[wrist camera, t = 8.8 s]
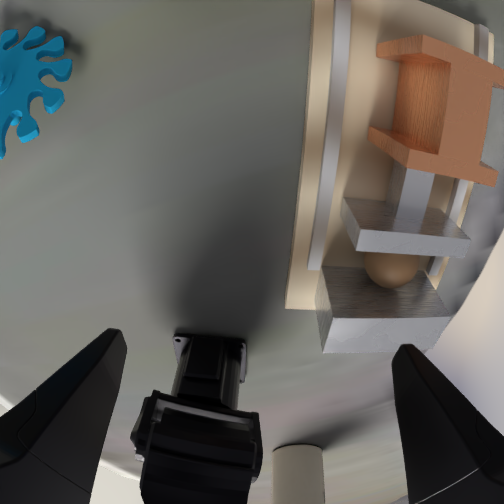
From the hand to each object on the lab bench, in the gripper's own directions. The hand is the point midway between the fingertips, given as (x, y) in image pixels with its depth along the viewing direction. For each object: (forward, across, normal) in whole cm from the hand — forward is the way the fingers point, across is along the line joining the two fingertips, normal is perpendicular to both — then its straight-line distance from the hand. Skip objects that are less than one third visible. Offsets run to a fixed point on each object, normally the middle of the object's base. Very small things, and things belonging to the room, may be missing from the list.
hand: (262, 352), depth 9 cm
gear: (+12, +17, -9) cm, 23 cm away
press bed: (+12, -8, -3) cm, 15 cm away
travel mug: (+12, -8, +41) cm, 44 cm away
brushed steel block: (+11, -8, +6) cm, 15 cm away
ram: (+10, -8, -5) cm, 14 cm away
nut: (+11, -8, +2) cm, 14 cm away
